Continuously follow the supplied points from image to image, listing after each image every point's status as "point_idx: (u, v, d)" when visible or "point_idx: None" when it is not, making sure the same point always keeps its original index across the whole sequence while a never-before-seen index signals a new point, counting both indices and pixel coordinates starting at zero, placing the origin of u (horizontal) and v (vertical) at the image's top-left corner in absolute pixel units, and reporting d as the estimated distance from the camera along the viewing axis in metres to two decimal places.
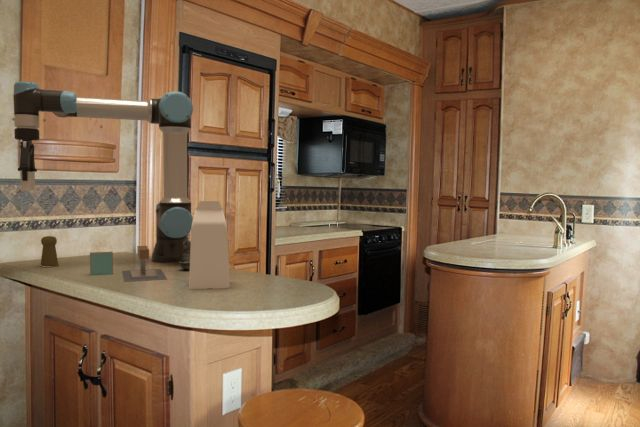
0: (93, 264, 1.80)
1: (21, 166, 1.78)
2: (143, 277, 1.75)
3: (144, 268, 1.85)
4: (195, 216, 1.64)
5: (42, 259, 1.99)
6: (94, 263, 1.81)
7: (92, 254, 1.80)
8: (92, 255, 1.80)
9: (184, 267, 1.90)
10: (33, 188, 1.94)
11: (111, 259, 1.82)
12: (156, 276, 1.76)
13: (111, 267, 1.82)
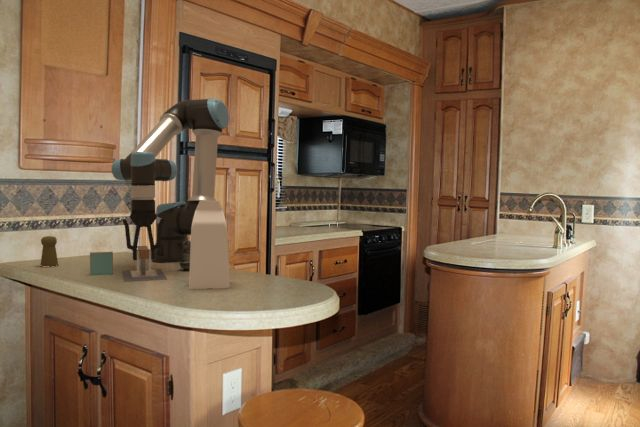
0: (93, 264, 1.80)
1: None
2: (143, 277, 1.75)
3: (144, 268, 1.85)
4: (195, 216, 1.64)
5: (42, 259, 1.99)
6: (94, 263, 1.81)
7: (92, 254, 1.80)
8: (92, 255, 1.80)
9: (184, 267, 1.90)
10: (148, 268, 1.81)
11: (111, 259, 1.82)
12: (156, 276, 1.76)
13: (111, 267, 1.82)
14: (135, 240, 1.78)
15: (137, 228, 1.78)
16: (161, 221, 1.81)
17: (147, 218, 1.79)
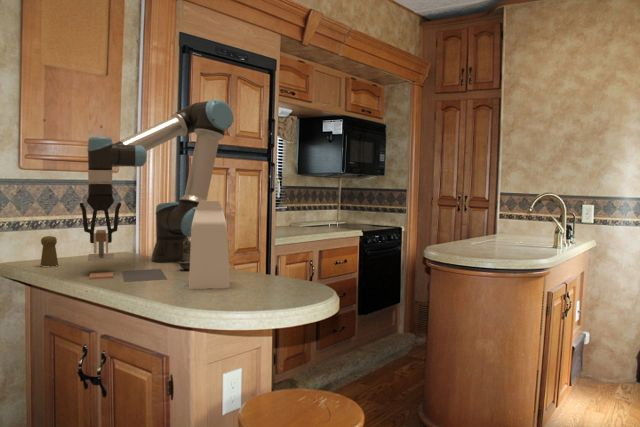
0: None
1: None
2: (99, 259, 1.79)
3: (102, 251, 1.88)
4: (195, 216, 1.64)
5: (42, 259, 1.99)
6: None
7: None
8: None
9: (184, 267, 1.90)
10: None
11: None
12: (112, 258, 1.80)
13: None
14: (92, 223, 1.82)
15: (94, 212, 1.82)
16: (118, 205, 1.85)
17: (104, 202, 1.82)
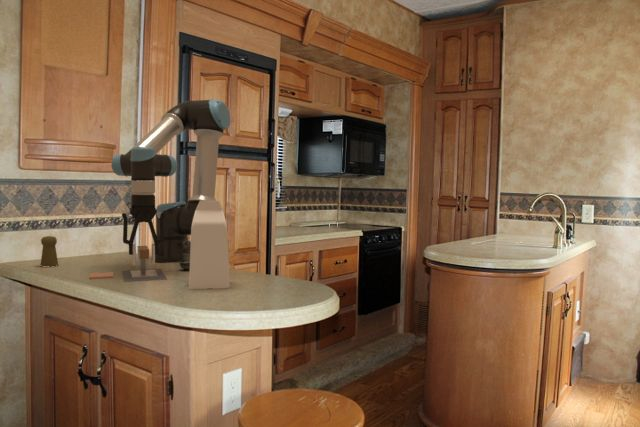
0: None
1: None
2: (143, 277, 1.75)
3: (144, 268, 1.84)
4: (195, 216, 1.64)
5: (42, 259, 1.99)
6: None
7: None
8: None
9: (184, 267, 1.90)
10: (152, 262, 1.81)
11: None
12: (156, 276, 1.76)
13: None
14: (132, 235, 1.78)
15: (136, 223, 1.78)
16: (162, 215, 1.81)
17: (147, 213, 1.78)
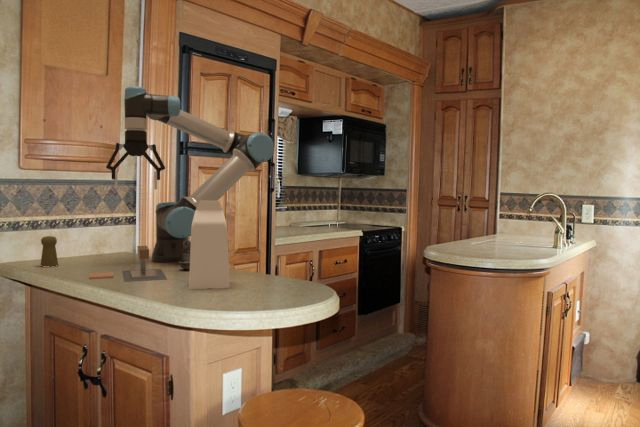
0: None
1: None
2: (143, 277, 1.75)
3: (144, 268, 1.84)
4: (195, 216, 1.64)
5: (42, 259, 1.99)
6: None
7: None
8: None
9: (184, 267, 1.90)
10: (154, 187, 2.00)
11: None
12: (156, 276, 1.76)
13: None
14: (118, 162, 1.95)
15: (125, 154, 1.95)
16: (153, 147, 1.99)
17: (139, 148, 1.97)
